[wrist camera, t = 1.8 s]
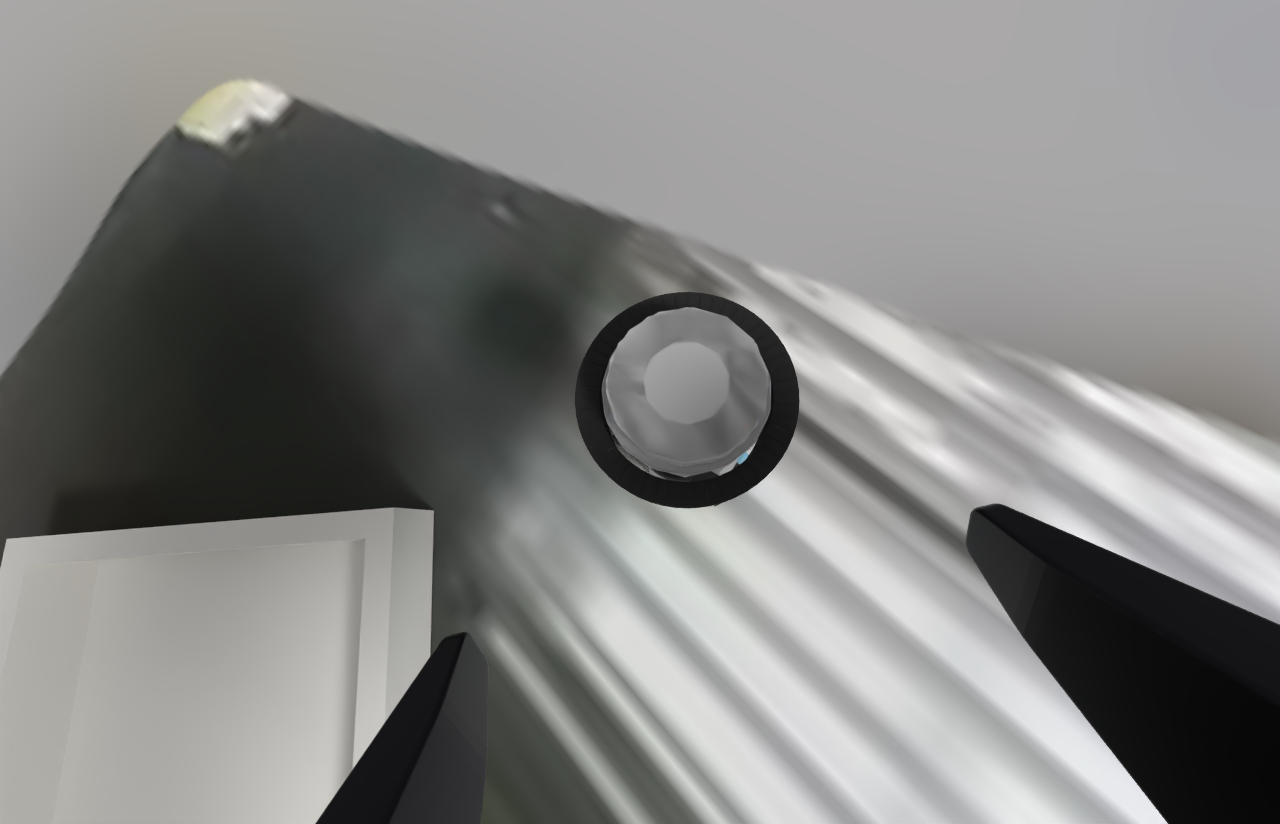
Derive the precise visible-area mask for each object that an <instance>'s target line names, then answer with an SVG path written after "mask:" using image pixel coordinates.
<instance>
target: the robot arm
mask: <svg viewBox="0 0 1280 824" xmlns="http://www.w3.org/2000/svg"><path fill="white" fill-rule="evenodd" d="M966 547H967V550H968V552H969V554H970V556H971V558H972V559H973V561H974V562H975V564H976V565H977V567H978V569H979V570H980V572H981V573H982V575H983V576H984V578H985V580H986V581H987V583H988V584H989V586H990V587H991V589H992V590H993V592H994V594H995V595H996V597H997V598H998V600H999V601H1000V603H1001V605H1002V606H1003V608H1004V609H1005V611H1006V612H1007V614H1008V616H1009V617H1010V619H1011V620H1012V622H1013V623H1014V625H1015V626H1016V628H1017V629H1018V631H1019V632H1020V634H1021V635H1022V637H1023V638H1024V639H1025V641H1026V642H1027V643H1028V645H1029V646H1030V647H1031V649H1032V650H1033V651H1034V653H1035V654H1036V655H1037V656H1038V658H1039V659H1040V660H1041V662H1042V663H1043V664H1044V665H1045V667H1046V668H1047V669H1048V670H1049V672H1050V673H1051V674H1052V676H1053V677H1054V678H1055V679H1056V681H1057V682H1058V683H1059V685H1060V686H1061V687H1062V688H1063V690H1064V691H1065V692H1066V694H1067V695H1068V696H1069V697H1070V699H1071V700H1072V701H1073V703H1074V704H1075V705H1076V706H1077V708H1078V709H1079V710H1080V711H1081V713H1082V714H1083V715H1084V717H1085V718H1086V719H1087V720H1088V722H1089V723H1090V724H1091V726H1092V727H1093V728H1094V729H1095V731H1096V732H1097V733H1098V735H1099V736H1100V737H1101V738H1102V740H1103V741H1104V742H1105V744H1106V745H1107V746H1108V747H1109V749H1110V750H1111V751H1112V752H1113V754H1114V755H1115V756H1116V758H1117V759H1118V760H1119V761H1120V763H1121V764H1122V765H1123V767H1124V768H1125V769H1126V770H1127V772H1128V773H1129V774H1130V776H1131V777H1132V778H1133V779H1134V781H1135V782H1136V783H1137V785H1138V786H1139V787H1140V788H1141V790H1142V791H1143V792H1144V793H1145V795H1146V796H1147V797H1148V799H1149V800H1150V801H1151V802H1152V804H1153V805H1154V806H1155V808H1156V809H1157V810H1158V811H1159V813H1160V814H1161V815H1162V817H1163V818H1164V819H1165V820H1166V822H1167V823H1168V824H1280V625H1279V624H1277V623H1275V622H1272V621H1270V620H1268V619H1265V618H1263V617H1261V616H1259V615H1256V614H1254V613H1252V612H1249V611H1247V610H1245V609H1242V608H1240V607H1238V606H1235V605H1233V604H1231V603H1229V602H1226V601H1224V600H1222V599H1219V598H1217V597H1215V596H1212V595H1210V594H1208V593H1206V592H1203V591H1201V590H1199V589H1196V588H1194V587H1192V586H1189V585H1187V584H1185V583H1182V582H1180V581H1178V580H1176V579H1173V578H1171V577H1169V576H1166V575H1164V574H1162V573H1159V572H1157V571H1155V570H1152V569H1150V568H1148V567H1146V566H1143V565H1141V564H1139V563H1136V562H1134V561H1132V560H1129V559H1127V558H1125V557H1122V556H1120V555H1118V554H1116V553H1113V552H1111V551H1109V550H1106V549H1104V548H1102V547H1099V546H1097V545H1095V544H1092V543H1090V542H1088V541H1086V540H1083V539H1081V538H1079V537H1076V536H1074V535H1072V534H1069V533H1067V532H1065V531H1063V530H1060V529H1058V528H1056V527H1053V526H1051V525H1049V524H1046V523H1044V522H1042V521H1039V520H1037V519H1035V518H1033V517H1030V516H1028V515H1026V514H1023V513H1021V512H1019V511H1016V510H1014V509H1012V508H1009V507H1007V506H1005V505H1002V504H990V505H986V506H981V507H977V508H975V509H974V510H973V511H972V512H971V514H970V519H969V525H968V530H967V535H966ZM487 736H488V664H487V660H486V657H485V655H484V654H483V652H482V651H481V649H480V648H479V646H478V645H477V643H476V642H475V640H474V639H473V637H472V636H471V634H469V633H467V632H462V633H457V634H453V635H449V636H447V637H445V638H444V639H442V640H441V642H440V643H439V644H438V646H437V647H436V649H435V650H434V652H433V653H432V655H431V656H430V657H429V659H428V660H427V662H426V663H425V665H424V666H423V668H422V669H421V671H420V672H419V673H418V675H417V676H416V678H415V679H414V681H413V682H412V684H411V685H410V687H409V688H408V689H407V691H406V692H405V694H404V695H403V697H402V698H401V700H400V701H399V703H398V704H397V705H396V707H395V708H394V710H393V711H392V713H391V714H390V716H389V717H388V719H387V720H386V721H385V723H384V724H383V726H382V727H381V729H380V730H379V732H378V733H377V734H376V736H375V737H374V739H373V740H372V742H371V743H370V745H369V746H368V748H367V749H366V750H365V752H364V753H363V755H362V756H361V758H360V759H359V761H358V762H357V764H356V765H355V766H354V768H353V769H352V771H351V772H350V774H349V775H348V777H347V778H346V780H345V781H344V782H343V784H342V785H341V787H340V788H339V790H338V791H337V793H336V794H335V796H334V797H333V798H332V800H331V801H330V803H329V804H328V806H327V807H326V809H325V810H324V812H323V813H322V814H321V816H320V817H319V819H318V820H317V822H316V823H315V824H480V823H481V814H482V805H483V796H484V787H485V778H486V767H487Z"/></svg>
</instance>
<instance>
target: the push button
mask: <svg viewBox="0 0 1280 824" xmlns="http://www.w3.org/2000/svg"><path fill="white" fill-rule="evenodd" d="M575 406H576V416H577V421H578V425H579V429H580V432H581V435H582V438H583V440H584V442H585V444H586V447H587V449H588V450H589V452H590V454H591V455H592V457H593V459H594V460H595V461H596V463H597V464H598V465H599V467H600V468H601V469H602V470H603V471H604V472H605V473H606V474H607V475H608V476H609V477H610V478H611V479H612V480H613V481H614V482H616V483H617V484H618V485H619V486H621V487H622V488H624V489H625V490H627V491H628V492H630V493H632V494H633V495H635V496H637V497H639V498H641V499H644V500H646V501H649V502H651V503H655V504H659V505H662V506H668V507H674V508H700V507H707V506H712V505H714V506H717V505H719V504H721V503H723V502H726V501H728V500H731V499H733V498H735V497H737V496H739V495H741V494H743V493H745V492H747V491H748V490H750V489H751V488H753V487H754V486H756V485H757V484H758V483H759V482H761V481H762V480H763V479H764V478H765V477H766V476H767V475H768V474H769V473H770V472H771V471H772V470H773V469H774V468H775V467H776V465H777V464H778V463H779V461H780V460H781V458H782V457H783V455H784V453H785V452H786V450H787V448H788V446H789V444H790V442H791V439H792V437H793V434H794V431H795V428H796V424H797V419H798V413H799V388H798V382H797V377H796V373H795V369H794V366H793V364H792V361H791V359H790V356H789V354H788V352H787V350H786V349H785V347H784V345H783V344H782V342H781V341H780V339H779V338H778V336H777V335H776V334H775V333H774V332H773V330H772V329H771V328H770V327H769V326H768V325H767V324H766V323H765V322H764V321H763V320H762V319H760V318H759V317H758V316H756V315H755V314H754V313H752V312H751V311H749V310H748V309H746V308H745V307H743V306H741V305H739V304H737V303H735V302H733V301H730V300H727V299H725V298H722V297H718V296H714V295H710V294H704V293H694V292H678V293H670V294H664V295H660V296H655V297H652V298H649V299H646V300H644V301H642V302H639V303H637V304H635V305H633V306H631V307H630V308H628V309H626V310H625V311H623V312H622V313H620V314H619V315H617V316H616V317H615V318H614V319H613V320H611V321H610V322H609V323H608V324H607V325H606V326H605V327H604V328H603V329H602V330H601V332H600V333H599V334H598V335H597V337H596V338H595V339H594V341H593V342H592V344H591V346H590V347H589V349H588V351H587V353H586V355H585V357H584V359H583V362H582V364H581V367H580V370H579V374H578V379H577V384H576V392H575ZM609 427H610V428H611V430H612V432H613V433H614V434H613V436H611V432H610V429H609ZM757 439H758V440H757ZM613 440H614V441H615V442H616V443H617V444H618V445H619V446H621V447H622V448H624V449H625V450H626V452H628V453H629V454H631V455H632V456H634V457H635V458H637V459H638V460H640V461H641V462H643V463H644V464H645V465H647V466H648V467H650V468H649V470H648V471H649V473H650V474H649V473H647V472H645V471H643V470H641V469H640V468H638V467H636V466H635V465H634V464H632V463H631V462H630V461H629V460H627V459H626V458H625V457H624V456H623V455H622V454H621V453H620V452H619V450H618V448H617V447H616V445H615V443H614V441H613ZM756 441H757V442H756ZM755 442H756V444H755V446H754V448H753V450H752V451H751V453H750V454H749V455H748V454H747V453H746V451H747V450H749V449H750V448H751V447H752V446H753V444H754V443H755Z"/></svg>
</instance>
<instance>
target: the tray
mask: <svg viewBox="0 0 1280 824" xmlns="http://www.w3.org/2000/svg"><path fill="white" fill-rule="evenodd" d="M433 525H434V511H433V510H420V509H408V508H395V507H393V508H381V509H369V510H357V511H344V512H332V513H320V514H308V515H295V516H283V517H271V518H258V519H246V520H234V521H222V522H209V523H197V524H185V525H172V526H160V527H148V528H136V529H123V530H111V531H99V532H86V533H74V534H62V535H50V536H37V537H25V538H13V539H7V541H6V545H5V550H4V554H3V559H2V563H1V568H0V824H315V823H316V822H317V820H318V819H319V817H320V816H321V814H322V813H323V812H324V810H325V809H326V807H327V806H328V804H329V803H330V801H331V800H332V798H333V797H334V796H335V794H336V793H337V791H338V790H339V788H340V787H341V785H342V784H343V782H344V781H345V780H346V778H347V777H348V775H349V774H350V772H351V771H352V769H353V768H354V766H355V765H356V764H357V762H358V761H359V759H360V758H361V756H362V755H363V753H364V752H365V750H366V749H367V748H368V746H369V745H370V743H371V742H372V740H373V739H374V737H375V736H376V734H377V733H378V732H379V730H380V729H381V727H382V726H383V724H384V723H385V721H386V720H387V719H388V717H389V716H390V714H391V713H392V711H393V710H394V708H395V707H396V705H397V704H398V703H399V701H400V700H401V698H402V697H403V695H404V694H405V692H406V691H407V689H408V688H409V687H410V685H411V684H412V682H413V681H414V679H415V678H416V676H417V675H418V673H419V672H420V671H421V669H422V668H423V666H424V665H425V663H426V662H427V660H428V659H429V657H430V645H431V605H432V565H433Z"/></svg>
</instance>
